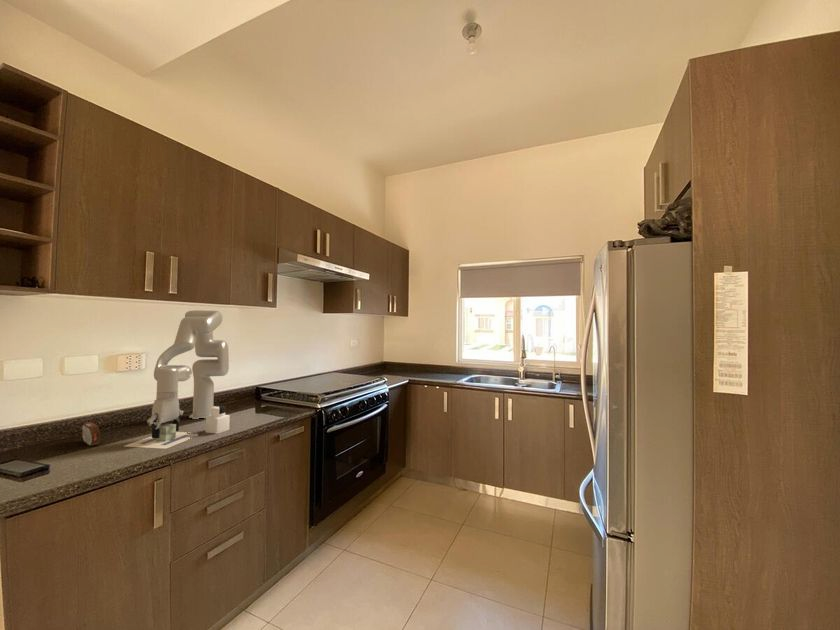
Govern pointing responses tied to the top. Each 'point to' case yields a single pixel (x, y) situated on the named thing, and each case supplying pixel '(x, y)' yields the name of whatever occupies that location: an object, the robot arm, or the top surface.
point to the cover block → (167, 432)
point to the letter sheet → (153, 443)
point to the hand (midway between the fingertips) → (165, 434)
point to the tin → (91, 434)
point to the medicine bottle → (217, 420)
